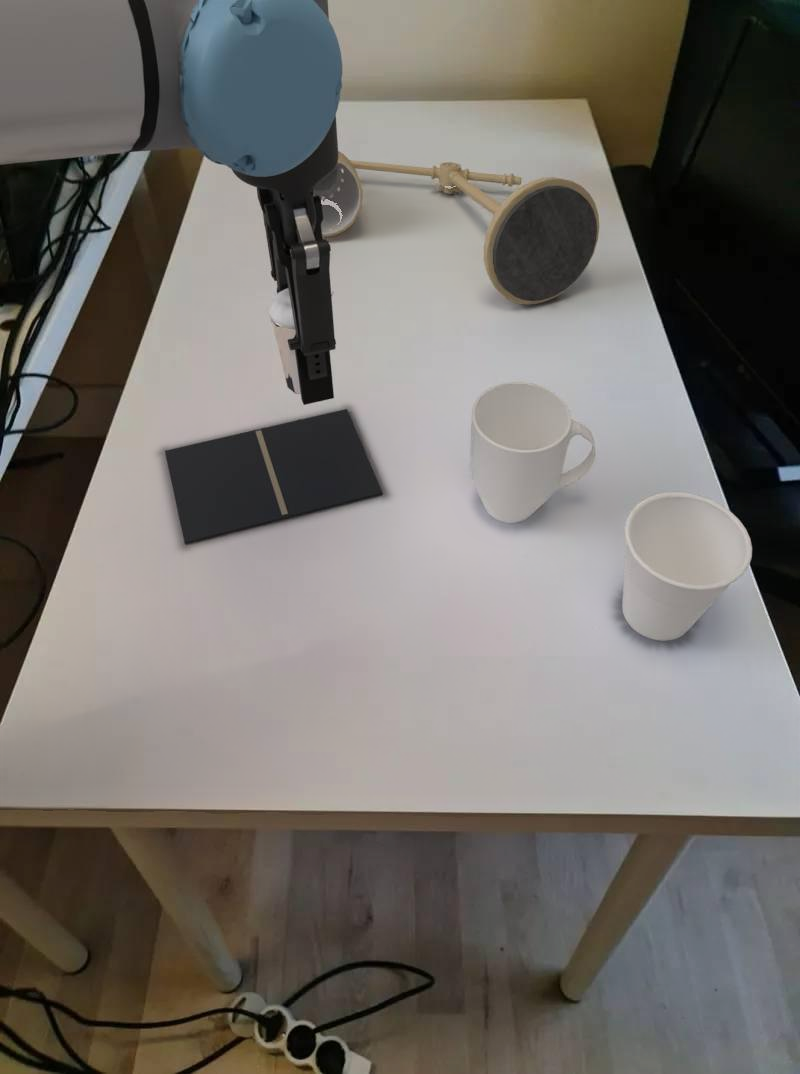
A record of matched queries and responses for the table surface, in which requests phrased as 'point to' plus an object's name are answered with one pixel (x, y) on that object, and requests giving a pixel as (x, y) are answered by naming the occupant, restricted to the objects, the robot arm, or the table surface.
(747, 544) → the cup
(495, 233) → the desk lamp
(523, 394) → the mug
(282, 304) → the milkshake
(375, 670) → the table surface
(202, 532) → the desk mat
